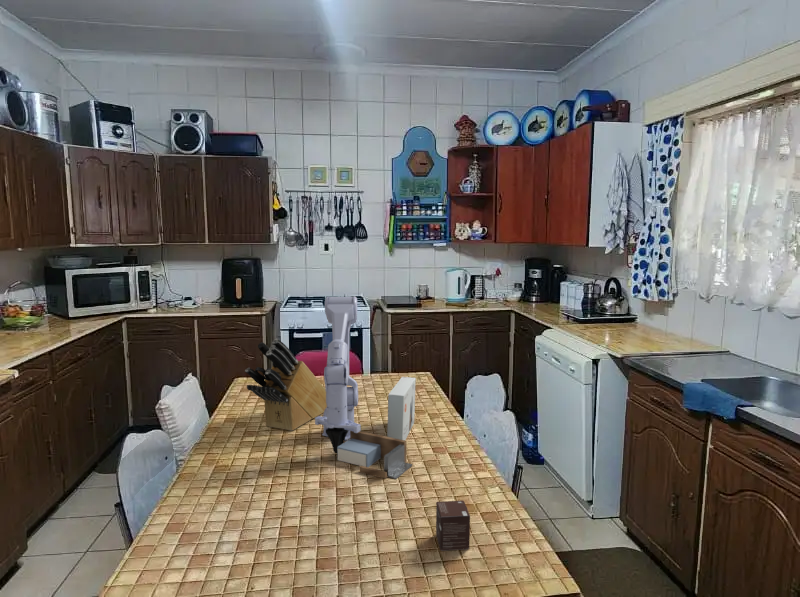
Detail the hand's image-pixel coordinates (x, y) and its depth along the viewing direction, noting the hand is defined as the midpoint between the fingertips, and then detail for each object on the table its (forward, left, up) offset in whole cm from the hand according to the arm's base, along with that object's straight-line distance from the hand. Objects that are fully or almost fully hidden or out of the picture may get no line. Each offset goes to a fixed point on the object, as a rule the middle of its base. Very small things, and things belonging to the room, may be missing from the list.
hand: (337, 452), depth 145 cm
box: (+45, -23, -2) cm, 51 cm away
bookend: (+20, 0, -1) cm, 20 cm away
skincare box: (+8, +24, -2) cm, 25 cm away
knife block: (-30, +16, -2) cm, 34 cm away
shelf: (+10, 0, -1) cm, 10 cm away
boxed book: (+6, +1, -1) cm, 7 cm away
